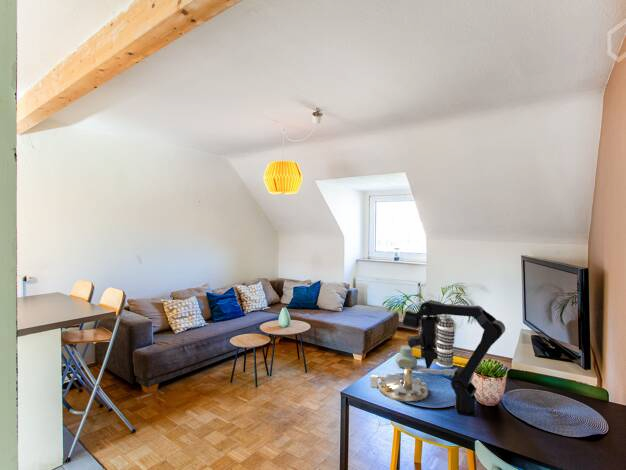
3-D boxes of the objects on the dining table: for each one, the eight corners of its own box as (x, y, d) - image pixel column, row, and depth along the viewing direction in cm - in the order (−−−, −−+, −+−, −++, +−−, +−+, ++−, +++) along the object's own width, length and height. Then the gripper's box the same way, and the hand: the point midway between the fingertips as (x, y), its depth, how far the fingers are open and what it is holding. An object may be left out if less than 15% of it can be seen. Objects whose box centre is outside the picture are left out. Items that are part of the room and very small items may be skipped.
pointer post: (381, 386, 156) (382, 375, 156) (381, 388, 154) (381, 378, 154) (371, 384, 157) (371, 374, 157) (370, 386, 155) (370, 376, 155)
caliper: (460, 381, 163) (460, 368, 163) (459, 382, 162) (460, 368, 162) (417, 370, 174) (417, 358, 174) (416, 371, 174) (416, 359, 173)
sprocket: (425, 379, 159) (425, 359, 159) (426, 399, 140) (427, 376, 140) (382, 374, 164) (382, 354, 164) (378, 392, 146) (379, 370, 146)
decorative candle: (433, 360, 188) (434, 314, 188) (451, 361, 187) (452, 315, 187) (437, 367, 179) (438, 319, 178) (456, 368, 178) (457, 319, 177)
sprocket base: (426, 383, 160) (426, 380, 160) (429, 405, 139) (429, 401, 139) (380, 377, 165) (380, 374, 165) (376, 397, 145) (376, 394, 145)
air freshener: (417, 365, 181) (418, 346, 181) (416, 371, 173) (416, 351, 173) (396, 362, 185) (396, 343, 185) (394, 367, 177) (394, 348, 177)
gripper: (408, 323, 155) (408, 357, 156) (408, 335, 137) (407, 374, 138) (434, 325, 152) (434, 360, 153) (438, 338, 134) (437, 378, 135)
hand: (427, 368), depth 145 cm, fingers closed
